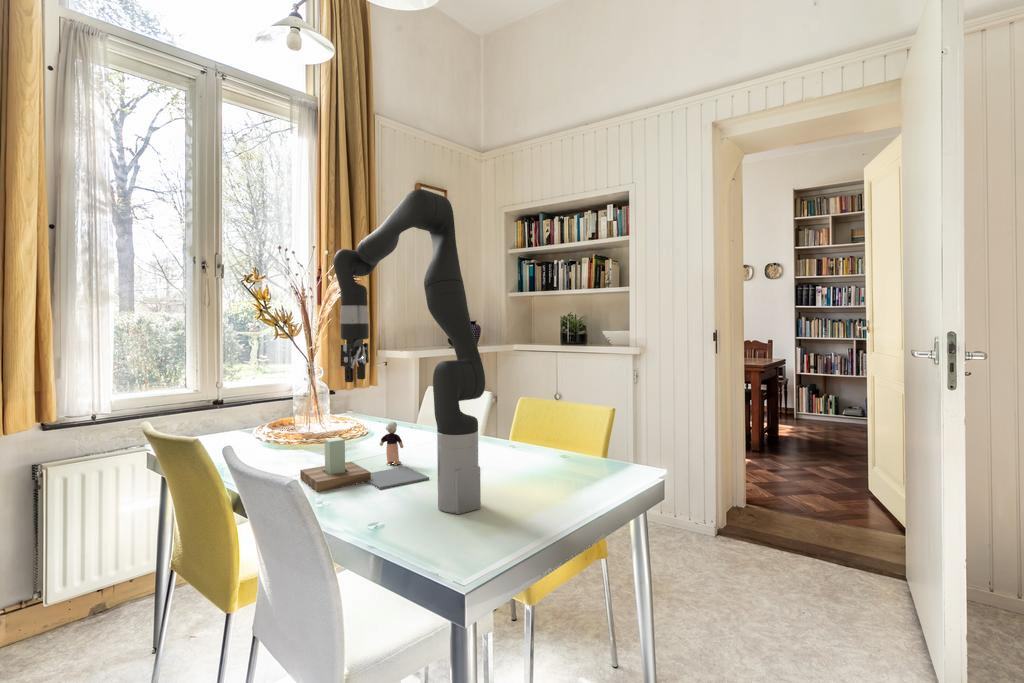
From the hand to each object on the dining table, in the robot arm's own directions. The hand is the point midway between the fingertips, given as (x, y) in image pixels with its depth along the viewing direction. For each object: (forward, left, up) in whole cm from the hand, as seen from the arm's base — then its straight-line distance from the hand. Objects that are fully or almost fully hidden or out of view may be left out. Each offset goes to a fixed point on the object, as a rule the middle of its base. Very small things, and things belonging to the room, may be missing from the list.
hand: (355, 380), depth 148 cm
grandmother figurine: (+3, -12, -26) cm, 29 cm away
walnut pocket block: (-3, +7, -26) cm, 27 cm away
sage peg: (-3, +7, -26) cm, 27 cm away
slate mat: (-11, -6, -26) cm, 29 cm away
